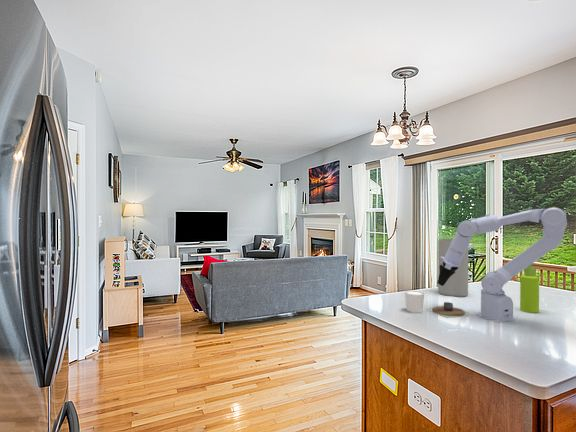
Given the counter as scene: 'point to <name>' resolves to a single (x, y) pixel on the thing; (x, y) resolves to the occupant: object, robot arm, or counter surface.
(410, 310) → the white cup
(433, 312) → the sage mat
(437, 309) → the walnut lid
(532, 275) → the soap dispenser
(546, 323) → the counter surface
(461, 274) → the cylinder vase
